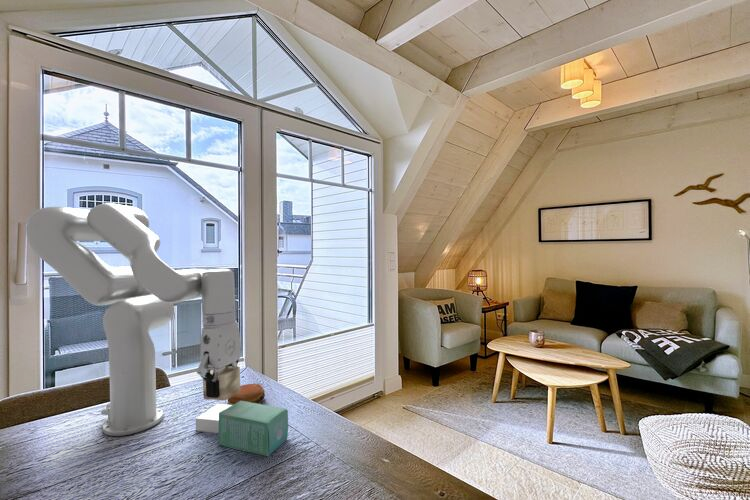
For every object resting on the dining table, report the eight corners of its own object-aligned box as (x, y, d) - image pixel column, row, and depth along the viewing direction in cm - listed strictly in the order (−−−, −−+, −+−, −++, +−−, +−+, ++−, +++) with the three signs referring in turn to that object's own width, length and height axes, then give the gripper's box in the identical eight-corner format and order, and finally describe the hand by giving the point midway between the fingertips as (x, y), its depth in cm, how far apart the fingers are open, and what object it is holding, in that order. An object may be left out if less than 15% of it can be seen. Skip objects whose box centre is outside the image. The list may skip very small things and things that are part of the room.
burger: (221, 411, 94) (221, 393, 94) (237, 396, 104) (237, 380, 104) (256, 412, 94) (256, 394, 94) (270, 397, 103) (269, 381, 103)
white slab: (195, 430, 84) (195, 418, 84) (217, 415, 92) (217, 403, 92) (225, 434, 82) (224, 421, 82) (245, 417, 90) (244, 406, 90)
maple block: (225, 400, 83) (224, 375, 83) (203, 398, 85) (202, 374, 85) (240, 390, 89) (239, 366, 89) (219, 389, 90) (219, 365, 90)
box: (269, 457, 73) (268, 421, 73) (217, 447, 77) (217, 413, 77) (289, 439, 79) (288, 406, 80) (240, 430, 84) (240, 399, 84)
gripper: (208, 327, 78) (211, 408, 78) (252, 312, 94) (255, 379, 94) (179, 326, 79) (182, 405, 79) (228, 312, 96) (230, 377, 96)
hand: (222, 390), depth 87 cm, fingers closed on maple block, 6 cm apart
